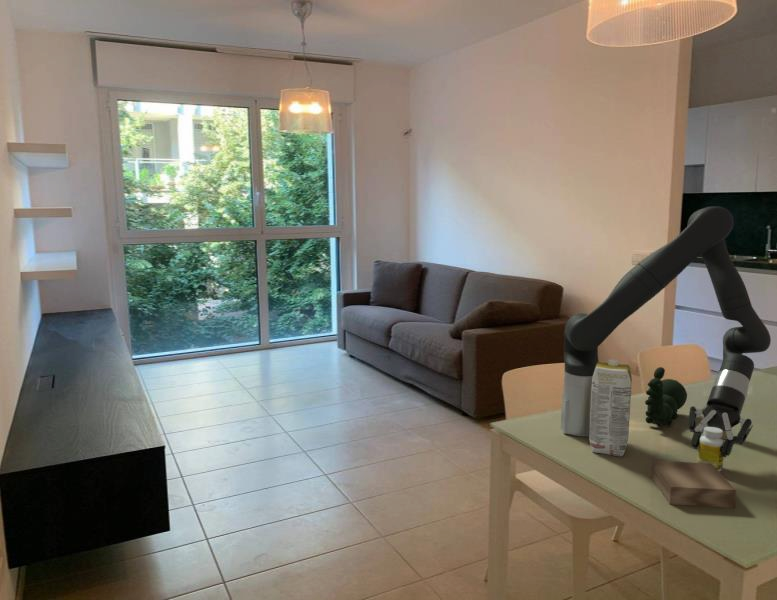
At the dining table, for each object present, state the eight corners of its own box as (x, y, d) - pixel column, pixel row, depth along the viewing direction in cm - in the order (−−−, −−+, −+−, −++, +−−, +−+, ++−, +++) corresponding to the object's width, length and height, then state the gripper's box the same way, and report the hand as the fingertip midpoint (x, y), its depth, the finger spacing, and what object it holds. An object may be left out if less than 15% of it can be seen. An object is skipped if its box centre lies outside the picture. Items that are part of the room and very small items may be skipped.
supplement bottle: (721, 474, 140) (725, 435, 138) (696, 469, 143) (699, 430, 141) (723, 466, 145) (726, 427, 143) (698, 461, 147) (701, 423, 146)
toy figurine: (669, 441, 164) (691, 408, 183) (673, 376, 160) (694, 350, 178) (634, 433, 170) (659, 402, 189) (636, 370, 166) (661, 346, 184)
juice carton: (628, 447, 156) (633, 359, 152) (626, 459, 149) (632, 366, 145) (590, 442, 160) (594, 355, 156) (587, 453, 153) (592, 363, 149)
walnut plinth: (669, 504, 126) (671, 486, 126) (651, 476, 139) (652, 460, 139) (734, 507, 125) (736, 490, 124) (709, 479, 137) (711, 463, 137)
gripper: (695, 378, 151) (674, 436, 144) (759, 391, 141) (740, 453, 134) (700, 394, 155) (680, 450, 149) (763, 407, 145) (745, 468, 139)
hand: (709, 451), depth 142 cm, fingers open, 5 cm apart
